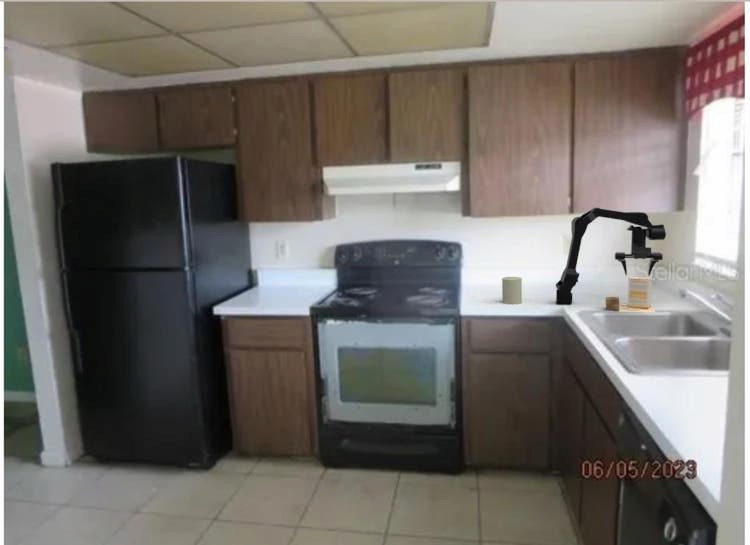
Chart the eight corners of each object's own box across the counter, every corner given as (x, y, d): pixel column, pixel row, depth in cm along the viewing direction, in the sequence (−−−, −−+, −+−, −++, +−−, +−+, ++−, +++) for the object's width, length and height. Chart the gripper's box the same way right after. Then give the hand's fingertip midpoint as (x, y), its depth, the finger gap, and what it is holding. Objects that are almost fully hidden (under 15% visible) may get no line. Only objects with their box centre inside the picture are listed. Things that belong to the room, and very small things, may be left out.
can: (508, 299, 257) (508, 275, 256) (525, 301, 251) (525, 276, 249) (498, 302, 251) (498, 277, 249) (515, 305, 244) (515, 279, 243)
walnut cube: (606, 310, 226) (606, 299, 225) (605, 308, 231) (605, 297, 230) (619, 310, 224) (619, 299, 223) (618, 308, 229) (618, 296, 228)
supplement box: (651, 307, 228) (652, 277, 226) (648, 309, 224) (649, 278, 223) (631, 305, 234) (632, 275, 232) (627, 307, 230) (628, 277, 228)
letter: (618, 311, 223) (618, 311, 223) (615, 304, 238) (615, 303, 238) (655, 313, 218) (655, 312, 218) (650, 305, 233) (650, 304, 233)
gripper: (617, 242, 231) (616, 277, 233) (665, 242, 224) (663, 278, 227) (615, 240, 241) (614, 273, 243) (661, 239, 235) (659, 274, 237)
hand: (637, 275), depth 237 cm, fingers open, 9 cm apart
